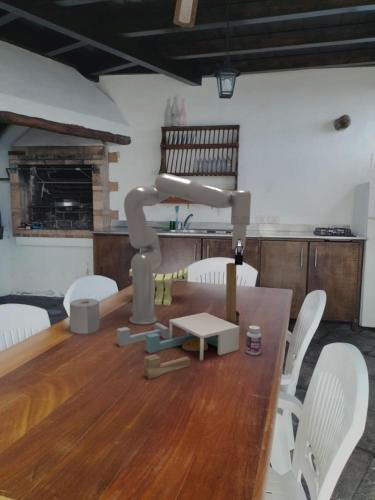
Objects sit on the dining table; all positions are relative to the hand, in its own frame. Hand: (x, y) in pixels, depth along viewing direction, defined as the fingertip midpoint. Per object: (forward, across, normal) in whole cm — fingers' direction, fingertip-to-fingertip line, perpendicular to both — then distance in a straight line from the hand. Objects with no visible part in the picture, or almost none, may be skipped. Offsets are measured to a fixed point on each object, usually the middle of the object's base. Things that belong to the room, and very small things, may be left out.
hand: (238, 262), depth 156 cm
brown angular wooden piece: (+30, +40, -21) cm, 54 cm away
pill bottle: (+30, +20, +6) cm, 36 cm away
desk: (+30, +17, -13) cm, 37 cm away
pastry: (+30, +20, -14) cm, 39 cm away
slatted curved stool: (+30, -42, -42) cm, 66 cm away
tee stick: (+30, +15, -37) cm, 50 cm away
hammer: (+30, -4, -2) cm, 30 cm away
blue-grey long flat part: (+30, +21, -19) cm, 41 cm away
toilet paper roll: (+30, +8, -63) cm, 70 cm away
